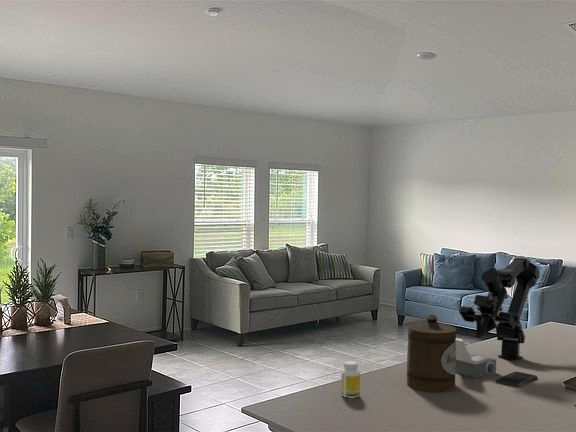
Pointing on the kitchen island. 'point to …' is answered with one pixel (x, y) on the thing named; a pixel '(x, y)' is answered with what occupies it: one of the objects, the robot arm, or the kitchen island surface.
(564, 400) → the kitchen island surface
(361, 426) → the kitchen island surface
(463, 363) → the camera case
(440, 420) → the kitchen island surface
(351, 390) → the supplement bottle
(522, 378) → the phone
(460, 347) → the side door
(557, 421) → the kitchen island surface
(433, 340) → the wooden container
